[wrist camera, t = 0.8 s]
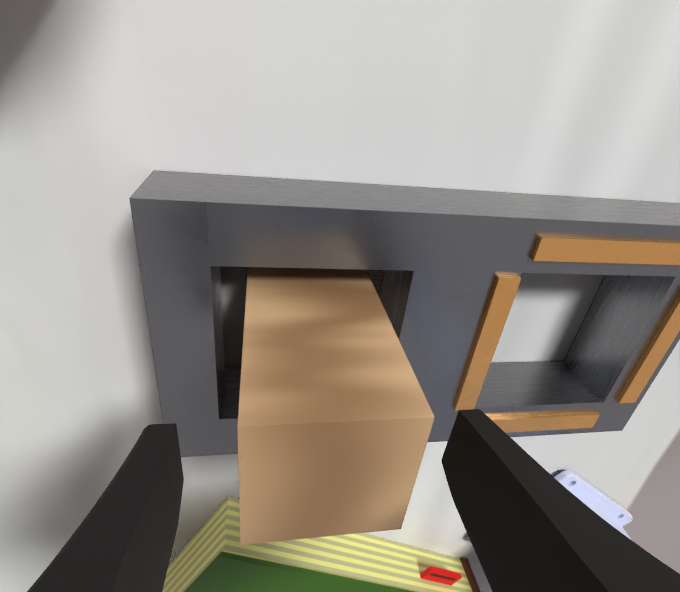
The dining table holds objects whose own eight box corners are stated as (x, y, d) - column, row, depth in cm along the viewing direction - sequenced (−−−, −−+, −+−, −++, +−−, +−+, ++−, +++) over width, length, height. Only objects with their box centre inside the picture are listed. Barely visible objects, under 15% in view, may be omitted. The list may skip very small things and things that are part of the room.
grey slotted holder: (680, 203, 17) (754, 231, 14) (582, 388, 22) (624, 433, 19) (153, 170, 13) (127, 200, 11) (181, 403, 18) (167, 462, 16)
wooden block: (361, 259, 16) (434, 417, 9) (348, 346, 18) (400, 528, 11) (248, 256, 15) (237, 427, 8) (249, 348, 17) (240, 544, 10)
